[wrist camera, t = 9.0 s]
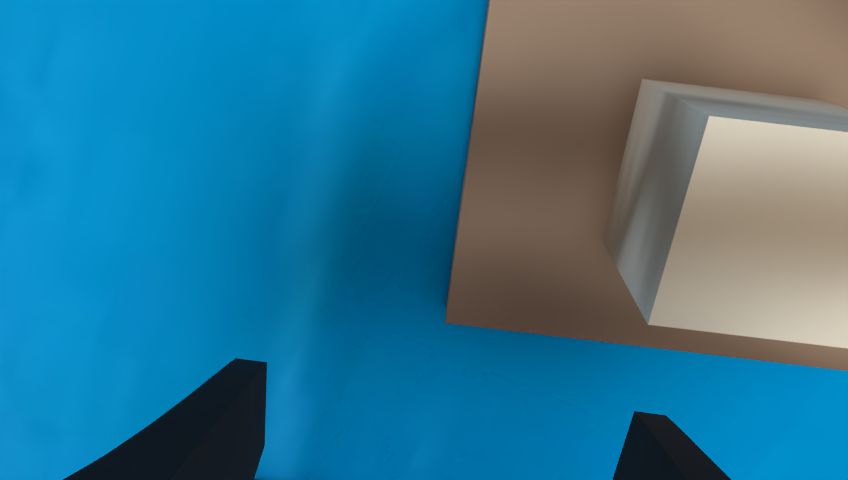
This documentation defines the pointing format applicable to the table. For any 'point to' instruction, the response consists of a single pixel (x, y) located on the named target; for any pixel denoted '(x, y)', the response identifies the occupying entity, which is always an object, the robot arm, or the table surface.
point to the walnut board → (608, 151)
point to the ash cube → (735, 213)
